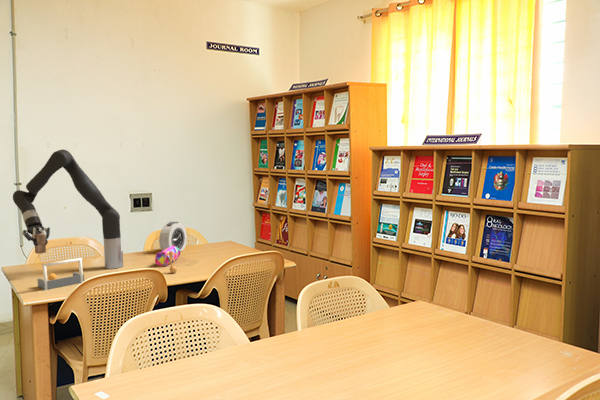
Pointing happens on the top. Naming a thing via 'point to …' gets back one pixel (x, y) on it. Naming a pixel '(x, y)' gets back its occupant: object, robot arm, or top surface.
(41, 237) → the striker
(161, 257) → the pencil case
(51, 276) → the ball
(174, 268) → the figurine
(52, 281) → the grey basket with handle
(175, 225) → the alarm clock
